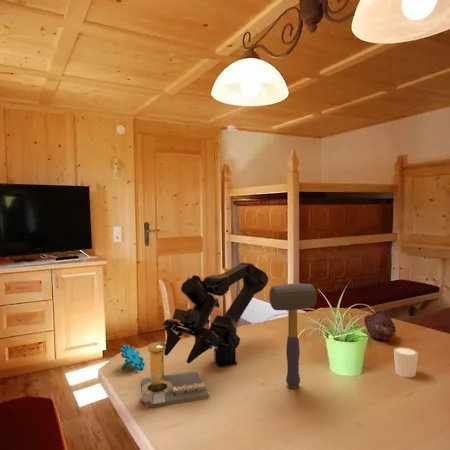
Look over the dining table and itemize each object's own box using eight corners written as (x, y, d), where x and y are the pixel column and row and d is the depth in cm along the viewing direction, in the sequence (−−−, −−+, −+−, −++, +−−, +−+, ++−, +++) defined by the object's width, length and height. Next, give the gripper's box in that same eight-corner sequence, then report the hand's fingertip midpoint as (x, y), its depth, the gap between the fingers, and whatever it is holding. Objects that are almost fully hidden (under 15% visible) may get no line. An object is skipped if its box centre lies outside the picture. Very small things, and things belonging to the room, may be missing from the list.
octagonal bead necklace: (196, 371, 116) (196, 364, 116) (208, 395, 101) (207, 386, 101) (140, 379, 111) (139, 371, 111) (143, 405, 97) (143, 396, 97)
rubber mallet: (307, 378, 113) (307, 280, 112) (318, 389, 106) (318, 285, 105) (268, 382, 110) (267, 282, 109) (277, 395, 103) (276, 287, 102)
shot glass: (417, 370, 117) (417, 348, 117) (418, 379, 111) (418, 356, 111) (393, 367, 120) (393, 345, 120) (393, 375, 114) (393, 353, 114)
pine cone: (356, 331, 155) (356, 308, 154) (378, 330, 156) (378, 306, 156) (381, 347, 137) (381, 320, 137) (405, 345, 139) (405, 318, 138)
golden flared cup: (167, 391, 104) (166, 341, 103) (165, 399, 99) (164, 348, 99) (150, 391, 104) (149, 342, 103) (147, 400, 99) (146, 348, 98)
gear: (138, 371, 116) (118, 346, 117) (125, 384, 116) (105, 359, 118) (151, 361, 126) (132, 339, 128) (139, 373, 127) (120, 351, 129)
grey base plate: (197, 374, 116) (197, 371, 116) (208, 397, 102) (208, 394, 102) (141, 382, 112) (141, 379, 112) (145, 407, 97) (145, 404, 97)
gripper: (166, 293, 116) (138, 338, 108) (211, 302, 104) (184, 353, 96) (184, 312, 123) (160, 356, 114) (229, 322, 111) (205, 372, 103)
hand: (176, 358), depth 107 cm, fingers open, 9 cm apart
